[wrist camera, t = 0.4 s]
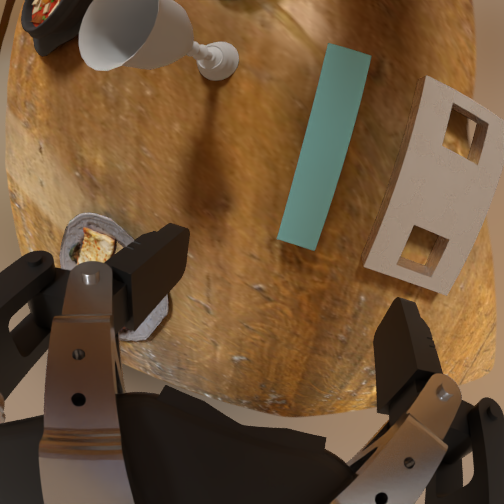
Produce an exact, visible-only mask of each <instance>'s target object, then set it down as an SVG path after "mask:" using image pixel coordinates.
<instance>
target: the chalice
mask: <svg viewBox="0 0 504 504" xmlns="http://www.w3.org/2000/svg"><path fill="white" fill-rule="evenodd" d="M79 49H80V53H81V56H82V58H83V60H84V61H85V63H86V64H87V65H88V66H90V67H91V68H93V69H95V70H103V71H108V70H111V69H113V68H116V67H119V66H128V67H134V68H140V69H149V70H151V69H155V68H159V67H162V66H165V65H169V64H172V63H173V62H175V61H177V60H178V59H180V58H182V57H183V56H185V55H188V56H193V58H194V59H196V60H197V65H198V68H199V71H200V73H201V74H202V75H203V76H204V77H205V78H207V79H209V80H214V81H217V80H223V79H225V78H227V77H229V76H230V75H231V74H232V73H234V71H235V70H236V68H237V66H238V62H239V55H238V52H237V50H236V49H235V48H234V47H233V46H232V45H231V44H229V43H227V42H215V43H211V44H208V45H206V46H205V45H199V44H198V43H197V42H195V41H194V37H193V27H192V25H191V23H190V20H189V18H188V16H187V14H186V11H185V10H184V9H183V8H182V7H181V6H180V5H179V4H178V3H176V2H174V1H173V0H93V1H92V3H91V4H90V6H89V7H88V9H87V11H86V13H85V15H84V17H83V20H82V23H81V27H80V31H79Z"/></svg>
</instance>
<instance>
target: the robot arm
mask: <svg viewBox="0 0 504 504" xmlns="http://www.w3.org/2000/svg"><path fill="white" fill-rule="evenodd" d="M189 236H190V232H189V229H188V228H185V227H182V226H179V225H176V224H172V223H169V224H167V225H166V226H164V227H163V228H162V229H160V230H159V231H157V232H156V231H153V232H149V233H146V234H143V235H141V236H140V237H138V238H137V239H136V240H134V242H131V243H130V244H129V245H127V247H124V248H123V249H122V250H120V251H119V252H117V253H116V254H115V255H113V256H112V257H111V258H109V259H108V260H107V261H105V262H104V263H102V262H98V261H87V262H83V263H80V264H78V265H76V266H75V267H74V268H73V269H72V270H66V269H61V268H56V267H55V265H54V259H53V256H52V255H51V254H50V253H49V252H46V251H33V252H30V253H27V254H25V255H24V256H22V257H21V258H19V259H18V260H17V261H15V262H14V263H13V264H11V265H10V266H8V267H7V268H6V269H5V270H3V271H2V272H1V273H0V504H415V502H416V501H417V500H418V498H419V497H420V495H421V494H422V492H423V491H424V489H425V488H426V495H425V504H504V415H503V412H502V410H501V408H500V406H499V405H498V404H497V403H496V402H495V401H494V400H493V399H491V398H483V399H481V400H480V401H479V402H478V403H477V404H476V405H475V406H473V405H471V404H469V403H467V402H465V401H463V400H462V395H461V391H460V389H459V387H458V385H457V384H456V382H455V381H454V380H453V379H452V378H450V377H449V376H447V375H445V374H443V372H442V369H441V365H440V361H439V358H438V354H437V351H436V349H435V344H434V341H433V340H432V339H433V338H432V335H431V332H430V329H429V327H428V326H427V324H426V323H425V321H424V320H423V319H422V318H421V317H420V314H419V311H418V308H417V305H416V303H415V302H412V301H409V300H406V299H403V298H400V297H397V298H396V299H395V300H394V301H393V302H392V304H391V306H390V308H389V309H388V311H387V313H386V315H385V316H384V318H383V320H382V321H381V323H380V325H379V326H378V328H377V330H376V332H375V336H374V341H373V345H374V357H375V371H376V391H377V413H381V414H387V415H389V420H388V421H387V422H386V423H385V424H384V425H383V426H382V427H381V428H380V429H379V430H378V432H377V433H376V434H375V435H374V436H373V437H372V438H371V439H370V440H369V442H368V443H367V444H366V445H365V446H364V447H363V448H362V449H361V450H360V451H359V452H358V453H357V454H356V455H355V456H354V457H353V458H352V459H351V460H349V461H348V462H347V463H345V462H344V461H343V460H342V459H340V458H339V457H338V456H336V455H335V454H333V453H331V452H330V451H328V450H326V449H325V442H326V437H322V436H317V435H312V434H308V433H304V432H300V431H296V430H292V429H287V428H268V427H255V426H245V425H241V424H239V423H237V422H236V421H234V420H233V419H231V418H229V417H228V416H226V415H224V414H223V413H221V412H220V411H218V410H217V409H215V408H213V407H212V406H210V405H209V404H208V403H206V402H205V401H202V400H200V399H197V398H195V397H192V396H190V395H188V394H185V393H183V392H180V391H178V390H176V389H174V388H172V387H169V386H167V385H165V387H164V388H163V390H162V392H161V393H160V395H159V394H155V393H147V392H130V393H126V391H125V385H124V379H123V371H122V361H121V350H120V337H119V331H120V330H121V329H122V328H123V327H126V328H128V329H130V330H132V331H134V332H135V331H136V330H137V328H138V327H139V326H140V325H141V324H142V323H143V321H144V320H145V319H146V318H147V317H148V316H149V314H150V313H151V312H152V311H153V310H154V309H155V308H156V306H157V305H158V304H159V303H160V302H161V301H162V300H163V298H164V297H165V296H166V295H167V294H168V293H169V292H170V290H171V289H172V288H173V287H174V286H175V285H176V284H177V283H178V281H179V280H180V279H181V278H182V276H183V274H184V271H185V268H186V262H187V253H188V244H189ZM26 303H28V306H29V309H30V312H31V313H30V314H29V315H28V316H26V317H25V318H24V319H23V320H22V321H21V322H20V323H19V324H18V325H17V326H16V327H15V328H14V329H13V330H12V331H11V332H9V328H8V325H9V321H10V319H11V317H12V316H13V315H14V314H15V313H16V312H17V311H18V310H19V309H21V308H22V307H23V306H24V305H25V304H26ZM47 349H48V356H47V366H46V378H45V393H44V415H40V416H36V417H31V418H26V419H21V420H16V421H11V422H6V423H4V422H5V414H4V412H3V411H4V401H5V400H6V399H7V397H8V396H9V395H10V393H11V392H12V391H13V390H14V388H15V387H16V386H17V385H18V383H19V382H20V381H21V380H22V378H23V377H24V376H25V375H26V374H27V373H28V371H29V370H30V369H31V368H32V367H33V366H34V364H35V363H36V362H37V361H38V360H39V359H40V357H41V356H42V355H43V354H44V353H45V352H46V350H47ZM470 452H473V462H474V475H473V478H472V480H471V481H470V482H469V484H467V485H466V486H464V487H463V472H462V458H463V457H465V456H466V455H467V454H469V453H470Z"/></svg>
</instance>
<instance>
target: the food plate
mask: <svg viewBox="0 0 504 504" xmlns="http://www.w3.org/2000/svg"><path fill="white" fill-rule="evenodd" d="M67 225H68V226H66V228H67V229H65V231H66V232H64V236H63V239H62V244H61V247H62V248H61V250H60V251H61V252H60V253H61V254H60V264H61V269H66V270H72V269H73V268H74V267H75V266H76V265H78V264H80V263H83V262H87V261H98V262H102V263H104V262H105V261H107V260H108V259H109V258H111V257H112V256H113V255H115V251H116V247H117V246H116V241H118V243H119V244H121V245H122V246H123V247H127V245H129V244H130V243H131V242H134V240H133V238H132V237H131V236H130V235H128V233H126V232H125V231H124V229H122V228H121V227H120V226H118V224H117V223H115V222H114V221H113V220H112V219H111V218H109V217H106V216H101V215H100V214H99V215H98V214H95V213H82V214H78V216H76V217H75V218H74V219H72V220H70V222H69V224H67ZM167 314H168V295H166V296H165V297H164V298H163V300H162V301H161V302H160V303H159V304H158V305H157V306H156V308H155V309H154V310H153V311H152V312H151V313H150V314H149V316H148V317H147V318H146V319H145V320H144V321H143V323H142V324H141V325H140V326H139V327H138V328H137V330H136V331H135V332H134V331H132V330H130V329H128V328H126V327H123V328H122V329H121V330H120V331H119V337H120V339H121V340H124V341H135V342H136V341H143V340H146V339H147V338H148V337H149V336H150V334H151V333H152V332H153V331H154V330H155V329H156V327H157V326H158V325H159V324H160V322H161V321H162V319H164V317H165V315H167Z"/></svg>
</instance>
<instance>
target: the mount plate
mask: <svg viewBox="0 0 504 504" xmlns="http://www.w3.org/2000/svg"><path fill="white" fill-rule="evenodd" d="M451 108H452V109H453V110H455V111H457V112H459V113H461V114H462V115H464V116H466V117H468V118H469V119H471V120H473V121H475V122H476V123H477V125H476V129H475V133H474V137H473V141H472V144H471V148H470V151H469V155H468V158H467V159H466V158H464V157H462V156H460V155H459V154H457V153H455V152H453V151H451V150H449V149H447V148H445V147H443V146H442V143H443V139H444V136H445V132H446V128H447V125H448V121H449V117H450V112H451ZM503 165H504V120H503V119H501V118H500V117H498V116H496V115H495V114H494V113H492V112H491V111H489V110H488V109H486V108H485V107H483V106H482V105H480V104H479V103H477V102H475V101H474V100H472V99H470V98H469V97H467V96H465V95H463V94H462V93H460V92H458V91H456V90H455V89H453V88H451V87H449V86H447V85H445V84H443V83H441V82H439V81H437V80H435V79H433V78H431V77H429V76H427V75H426V76H423V77H421V78H419V79H418V81H417V86H416V90H415V94H414V99H413V103H412V107H411V111H410V115H409V119H408V122H407V126H406V130H405V133H404V137H403V140H402V144H401V147H400V150H399V153H398V157H397V160H396V163H395V166H394V169H393V172H392V175H391V178H390V181H389V184H388V187H387V190H386V193H385V196H384V199H383V201H382V204H381V207H380V210H379V212H378V215H377V217H376V220H375V223H374V225H373V228H372V230H371V233H370V235H369V238H368V240H367V243H366V245H365V248H364V250H363V252H362V255H361V256H362V261H363V267H365V268H368V269H371V270H374V271H377V272H380V273H383V274H386V275H389V276H392V277H395V278H398V279H401V280H404V281H406V282H409V283H412V284H415V285H418V286H421V287H424V288H427V289H429V290H432V291H435V292H438V293H441V294H444V295H446V296H447V294H448V293H449V291H450V289H451V287H452V286H453V284H454V282H455V280H456V278H457V277H458V275H459V273H460V271H461V269H462V267H463V265H464V263H465V261H466V259H467V257H468V255H469V253H470V251H471V249H472V247H473V245H474V242H475V240H476V238H477V236H478V234H479V231H480V229H481V227H482V224H483V222H484V219H485V217H486V214H487V211H488V209H489V207H490V204H491V201H492V198H493V196H494V193H495V190H496V187H497V184H498V181H499V178H500V175H501V172H502V168H503ZM414 225H416V226H418V227H421V228H423V229H426V230H428V231H430V232H433V233H435V234H437V235H439V236H438V238H437V241H436V243H435V245H434V247H433V249H432V252H431V254H430V256H429V258H428V260H427V262H426V264H425V266H424V265H422V264H419V263H416V262H414V261H411V260H408V259H405V258H403V257H400V255H401V253H402V251H403V249H404V246H405V244H406V242H407V240H408V237H409V235H410V233H411V230H412V228H413V226H414Z"/></svg>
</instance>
